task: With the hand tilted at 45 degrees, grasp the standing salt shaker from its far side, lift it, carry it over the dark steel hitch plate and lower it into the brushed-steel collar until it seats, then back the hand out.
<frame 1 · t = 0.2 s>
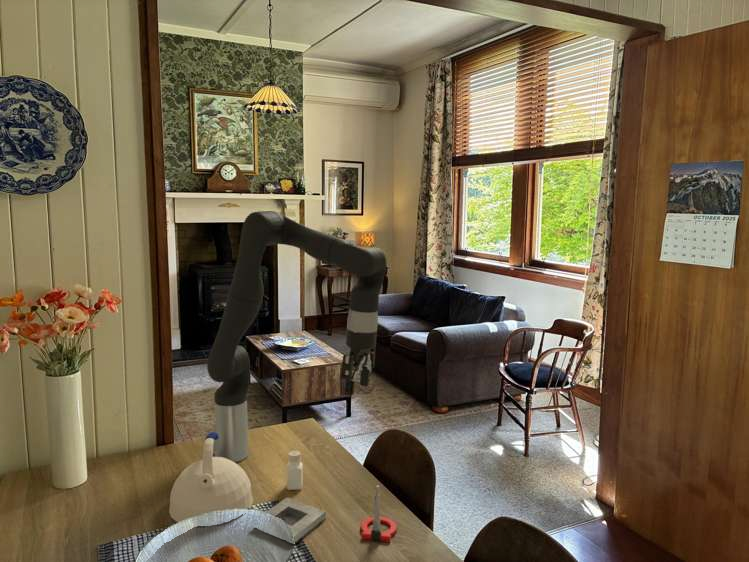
hand: (356, 390, 143), 29 cm above the table, tool pointing down, fingers open, 8 cm apart
tow hook: (378, 531, 132), on the table
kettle: (211, 505, 142), on the table
salt shaker: (294, 487, 151), on the table
hitch collar: (290, 523, 134), on the table
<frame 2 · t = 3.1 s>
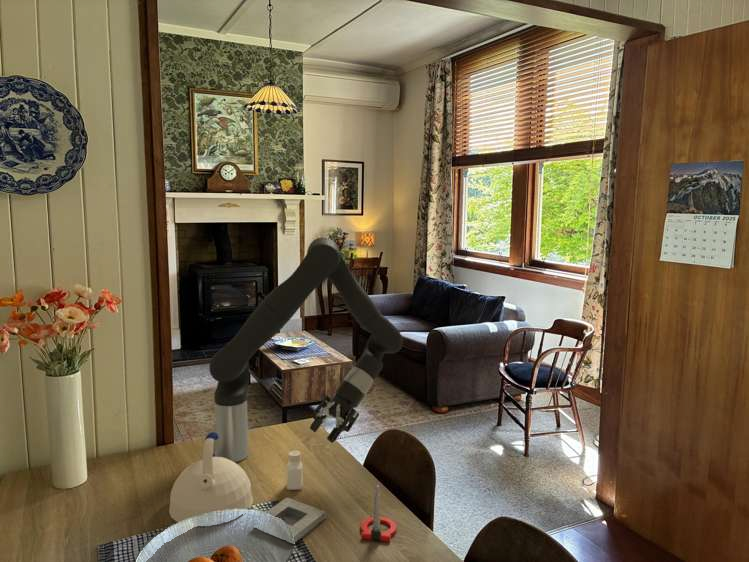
hand: (320, 435, 155), 12 cm above the table, tool tilted 45°, fingers open, 8 cm apart
nothing on the table moved.
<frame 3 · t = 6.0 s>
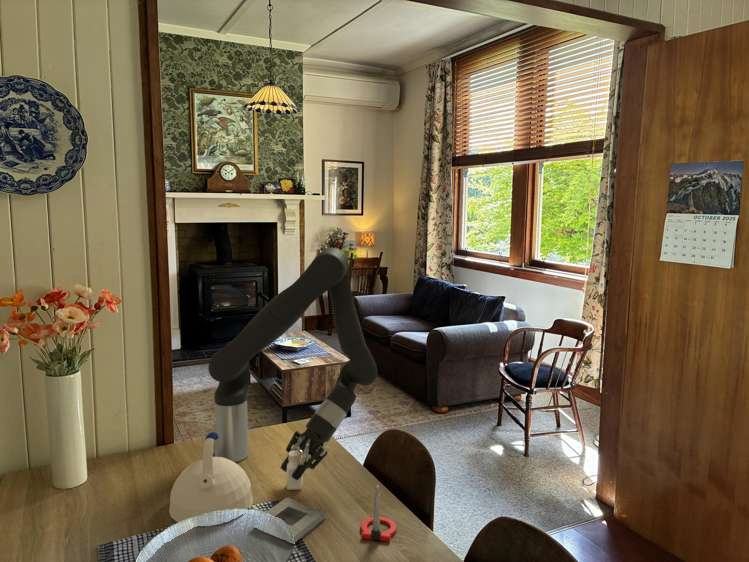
hand: (288, 474, 149), 4 cm above the table, tool tilted 45°, fingers closed on salt shaker, 5 cm apart
salt shaker: (294, 487, 151), on the table, touching gripper
everything else where it was.
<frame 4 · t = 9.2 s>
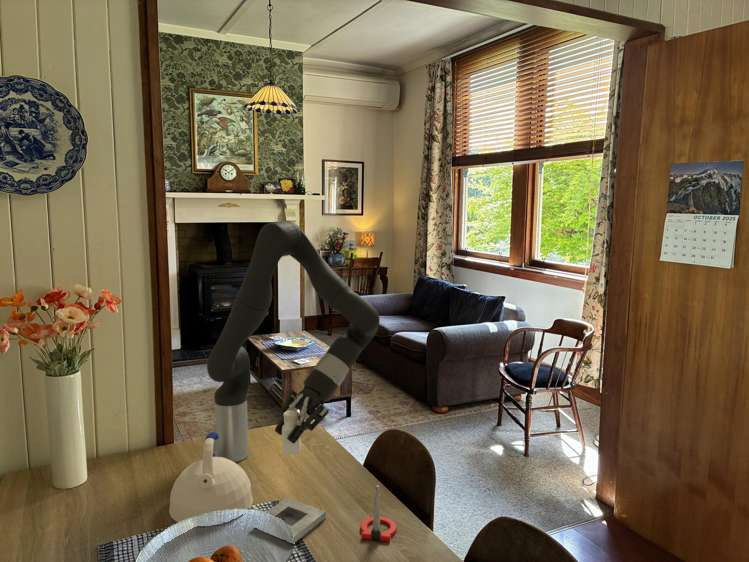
hand: (284, 436, 130), 22 cm above the table, tool tilted 45°, fingers closed on salt shaker, 5 cm apart
salt shaker: (291, 452, 132), point 18 cm above the table, touching gripper
everything else where it was.
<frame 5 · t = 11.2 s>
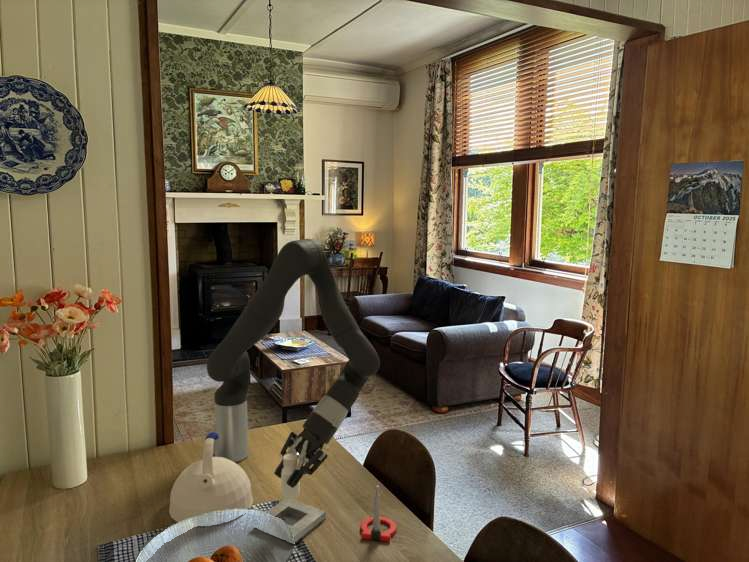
hand: (283, 480, 131), 12 cm above the table, tool tilted 45°, fingers closed on salt shaker, 5 cm apart
salt shaker: (291, 495, 133), point 7 cm above the table, touching gripper
everything else where it was.
when the fingers open (6 cm above the table, at t = 12.8 s): salt shaker drops 1 cm, resting on hitch collar.
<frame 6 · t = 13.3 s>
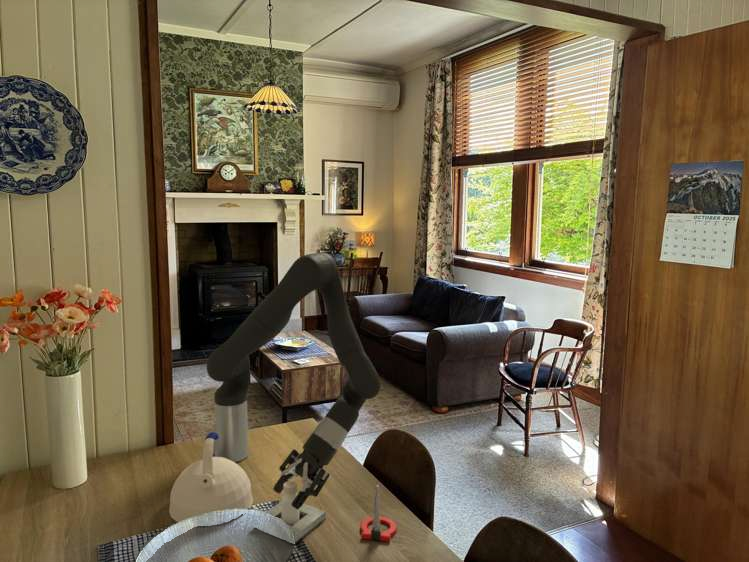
hand: (284, 499, 132), 7 cm above the table, tool tilted 45°, fingers open, 8 cm apart
salt shaker: (290, 522, 135), resting on hitch collar
everything else where it was.
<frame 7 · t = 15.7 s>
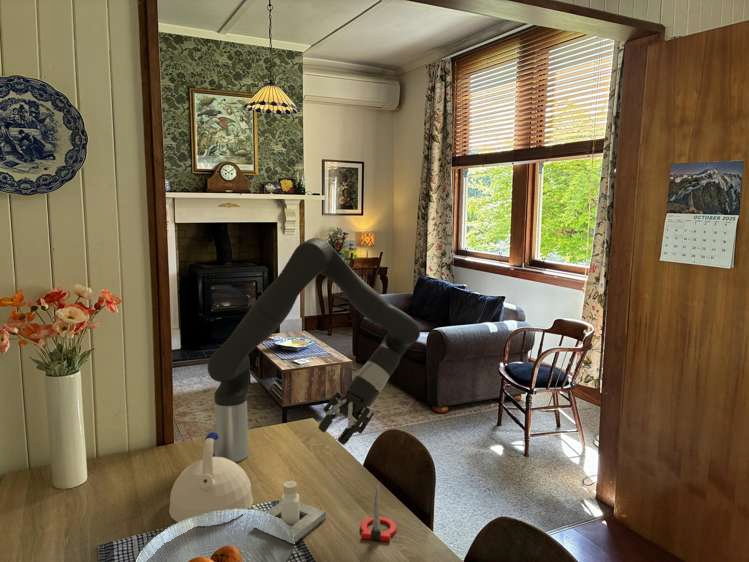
hand: (330, 436, 139), 18 cm above the table, tool tilted 45°, fingers open, 8 cm apart
nothing on the table moved.
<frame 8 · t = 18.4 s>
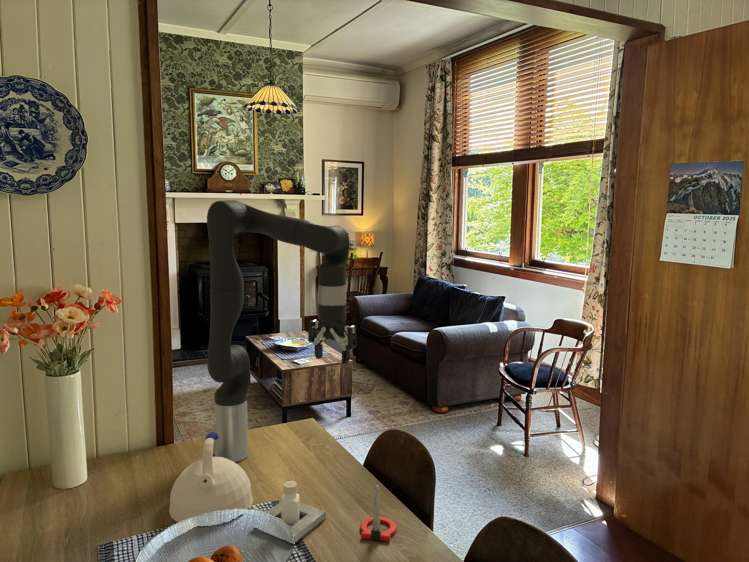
hand: (332, 360, 152), 33 cm above the table, tool pointing down, fingers open, 8 cm apart
nothing on the table moved.
at the end: salt shaker 0.3 cm off-centre on the hitch collar, point 0.2 cm above the hitch collar's base; salt shaker tilted 0°; the gripper is holding nothing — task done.
